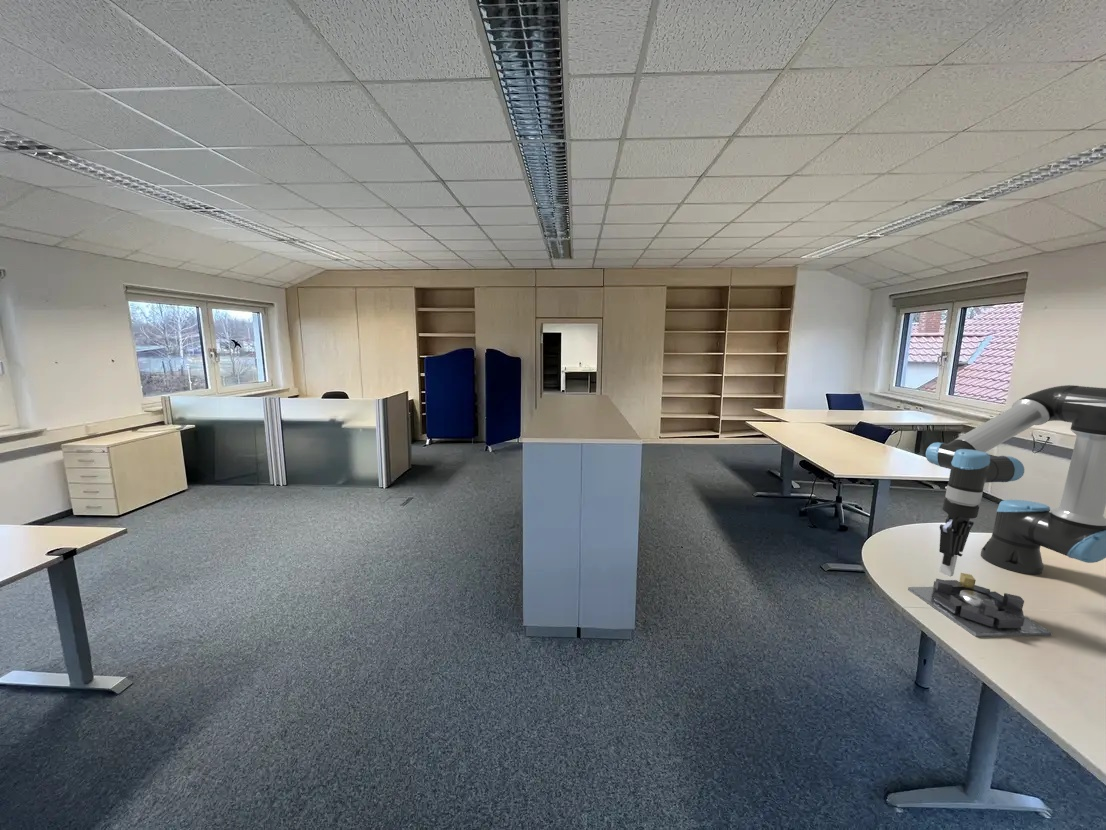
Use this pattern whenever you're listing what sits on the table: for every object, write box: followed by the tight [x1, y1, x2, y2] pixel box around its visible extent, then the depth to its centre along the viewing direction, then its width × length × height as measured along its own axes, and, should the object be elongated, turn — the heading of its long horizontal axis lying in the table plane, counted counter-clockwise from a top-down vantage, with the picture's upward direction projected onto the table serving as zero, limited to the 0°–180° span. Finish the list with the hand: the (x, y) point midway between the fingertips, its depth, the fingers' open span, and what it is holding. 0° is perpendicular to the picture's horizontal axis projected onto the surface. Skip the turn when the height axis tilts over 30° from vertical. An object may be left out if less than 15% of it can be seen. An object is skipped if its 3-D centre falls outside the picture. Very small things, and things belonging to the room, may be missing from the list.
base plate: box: [907, 586, 1052, 638], centre depth 122 cm, size 21×21×4 cm
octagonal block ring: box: [932, 572, 1025, 628], centre depth 122 cm, size 18×18×6 cm
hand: (946, 573), depth 128 cm, fingers closed
